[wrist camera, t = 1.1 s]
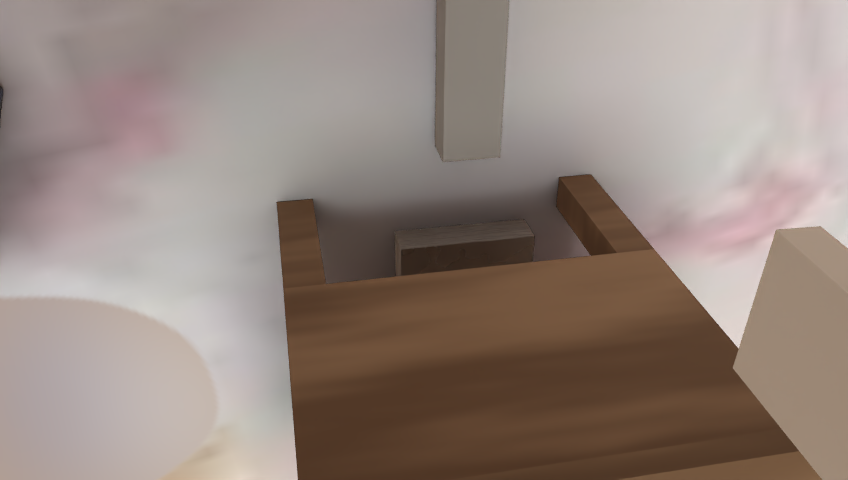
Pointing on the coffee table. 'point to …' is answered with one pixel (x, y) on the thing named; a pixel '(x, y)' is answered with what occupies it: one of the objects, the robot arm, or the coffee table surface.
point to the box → (0, 96)
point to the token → (463, 247)
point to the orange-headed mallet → (470, 78)
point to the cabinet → (520, 367)
